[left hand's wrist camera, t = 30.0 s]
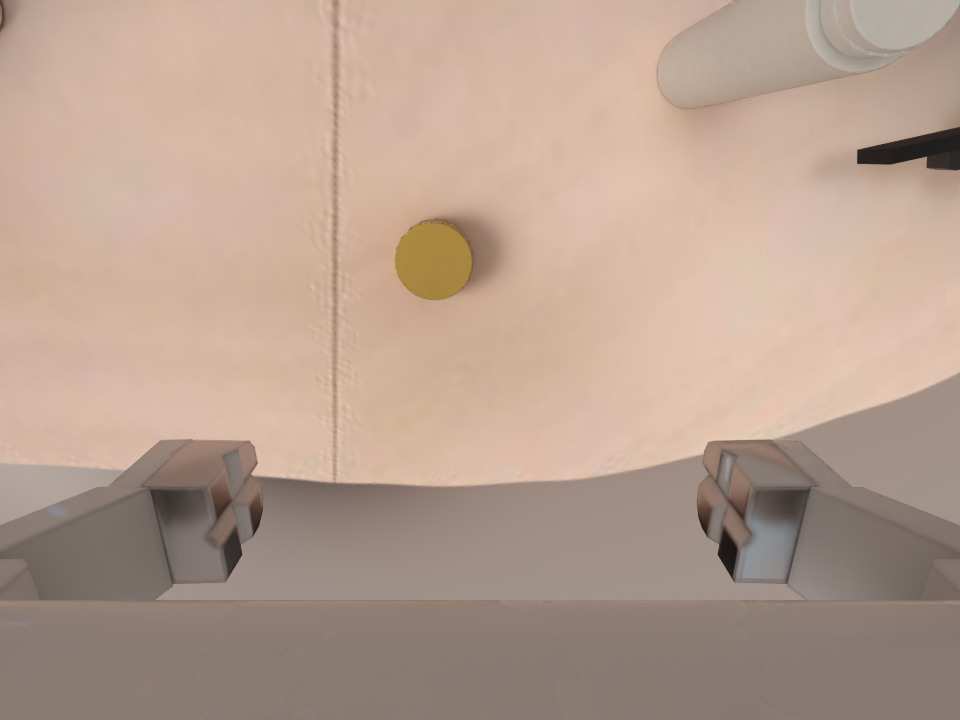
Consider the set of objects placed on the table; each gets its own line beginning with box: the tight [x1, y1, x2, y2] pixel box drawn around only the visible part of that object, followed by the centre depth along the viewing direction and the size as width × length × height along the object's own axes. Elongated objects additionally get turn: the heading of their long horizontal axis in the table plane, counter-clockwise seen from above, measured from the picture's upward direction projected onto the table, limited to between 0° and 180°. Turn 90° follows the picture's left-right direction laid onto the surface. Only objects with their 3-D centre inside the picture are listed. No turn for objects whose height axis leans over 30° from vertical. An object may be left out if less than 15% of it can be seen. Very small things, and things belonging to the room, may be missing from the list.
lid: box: [395, 219, 473, 300], centre depth 37 cm, size 5×5×2 cm
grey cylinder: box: [657, 0, 960, 109], centre depth 26 cm, size 4×4×18 cm
